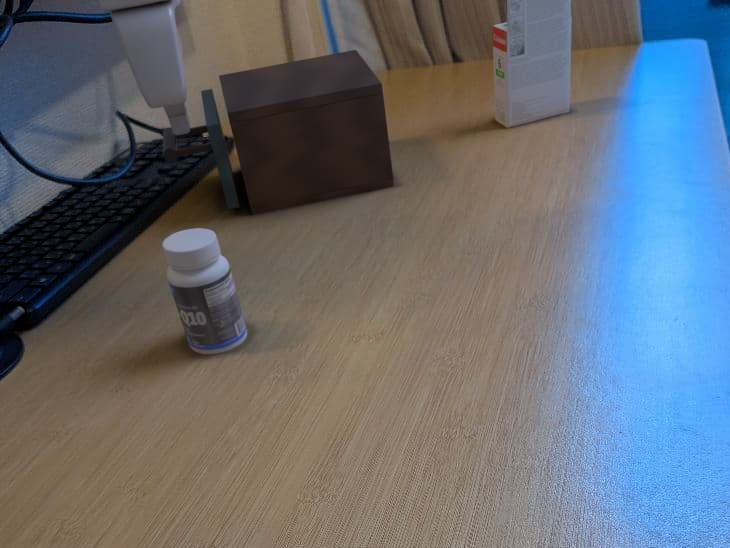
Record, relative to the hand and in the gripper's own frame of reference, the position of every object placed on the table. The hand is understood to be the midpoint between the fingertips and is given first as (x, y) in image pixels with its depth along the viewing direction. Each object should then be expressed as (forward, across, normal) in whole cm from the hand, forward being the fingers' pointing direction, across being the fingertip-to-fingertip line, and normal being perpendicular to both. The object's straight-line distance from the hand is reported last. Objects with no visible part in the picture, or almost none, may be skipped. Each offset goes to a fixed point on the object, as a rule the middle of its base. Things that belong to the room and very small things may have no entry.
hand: (182, 130), depth 82 cm
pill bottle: (+8, +30, 0) cm, 31 cm away
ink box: (+8, -6, +38) cm, 40 cm away
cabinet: (+7, 0, +12) cm, 14 cm away
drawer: (+6, 0, +7) cm, 9 cm away
